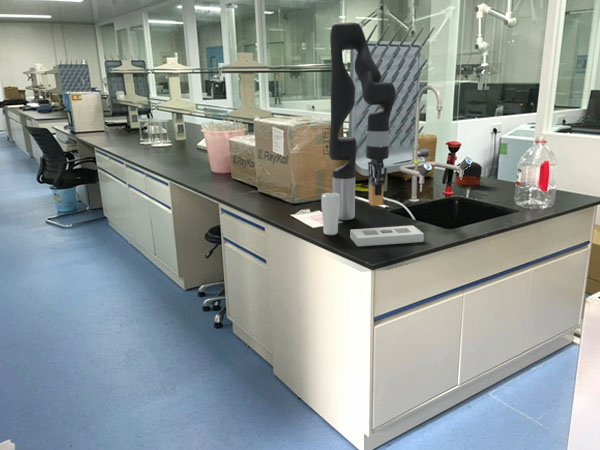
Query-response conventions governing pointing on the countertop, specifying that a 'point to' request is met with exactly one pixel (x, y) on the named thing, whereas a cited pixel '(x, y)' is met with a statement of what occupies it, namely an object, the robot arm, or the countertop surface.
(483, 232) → the countertop surface
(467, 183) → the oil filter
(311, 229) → the countertop surface
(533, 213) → the countertop surface
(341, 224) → the countertop surface
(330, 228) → the drinking glass
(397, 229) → the pdu strip
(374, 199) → the plug
